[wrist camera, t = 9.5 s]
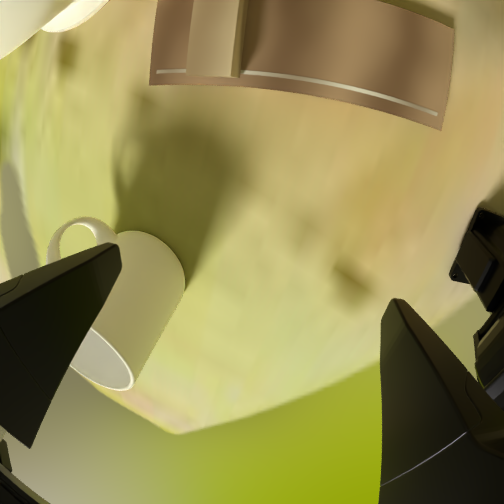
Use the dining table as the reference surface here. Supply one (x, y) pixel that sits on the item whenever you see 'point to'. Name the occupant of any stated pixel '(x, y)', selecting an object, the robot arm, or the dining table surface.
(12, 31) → the decorative vase
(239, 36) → the beige box with knob
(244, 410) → the dining table surface
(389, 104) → the board
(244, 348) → the dining table surface
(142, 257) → the mug
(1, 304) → the robot arm
